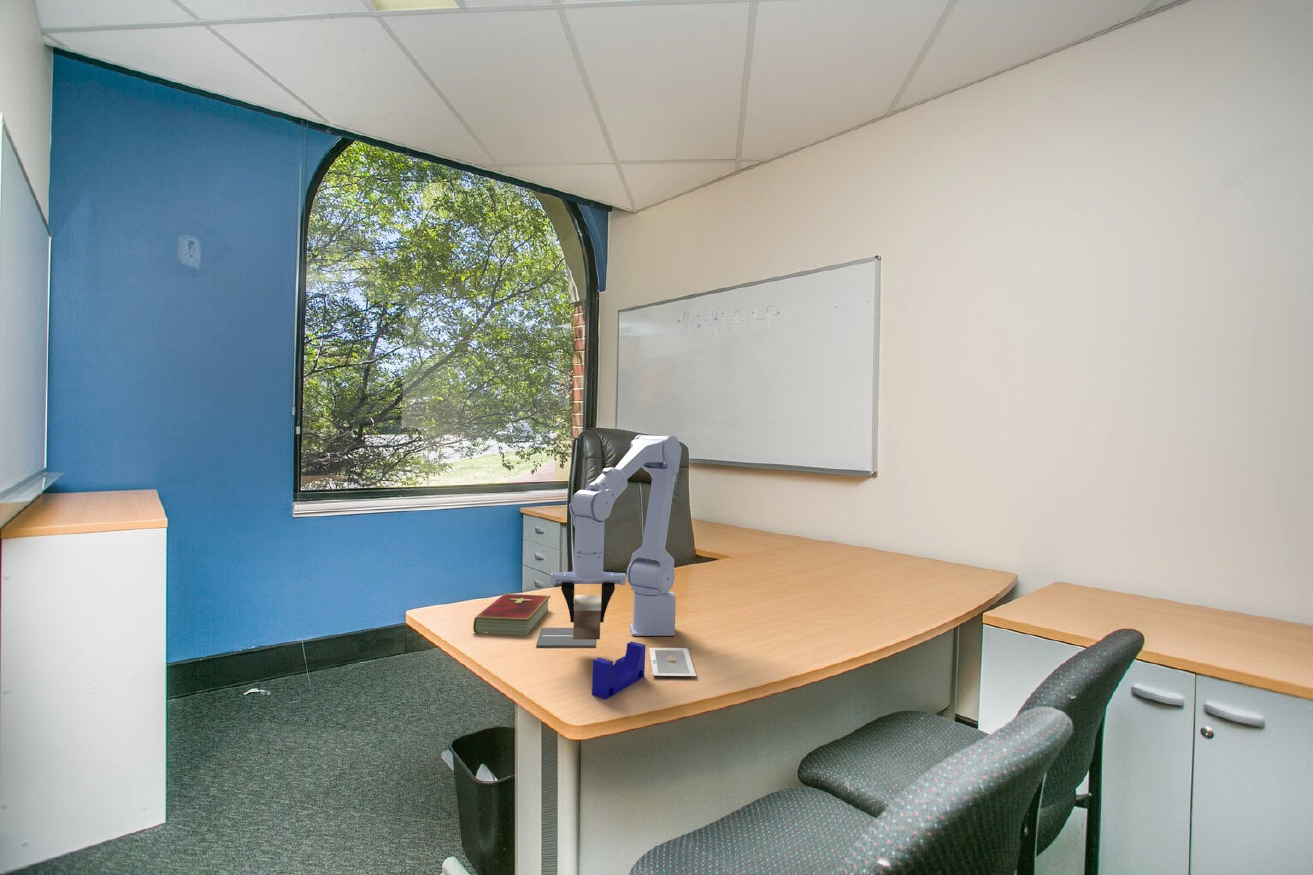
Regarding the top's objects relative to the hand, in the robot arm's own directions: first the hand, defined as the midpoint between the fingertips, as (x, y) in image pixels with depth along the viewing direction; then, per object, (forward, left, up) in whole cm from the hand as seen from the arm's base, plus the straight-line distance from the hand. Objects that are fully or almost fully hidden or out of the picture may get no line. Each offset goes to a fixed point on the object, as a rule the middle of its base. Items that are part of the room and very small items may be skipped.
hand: (587, 620), depth 122 cm
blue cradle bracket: (-5, +14, -8) cm, 16 cm away
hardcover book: (+17, -25, -8) cm, 31 cm away
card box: (0, 0, -2) cm, 2 cm away
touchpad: (-16, +4, -8) cm, 18 cm away
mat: (+4, -12, -7) cm, 14 cm away
